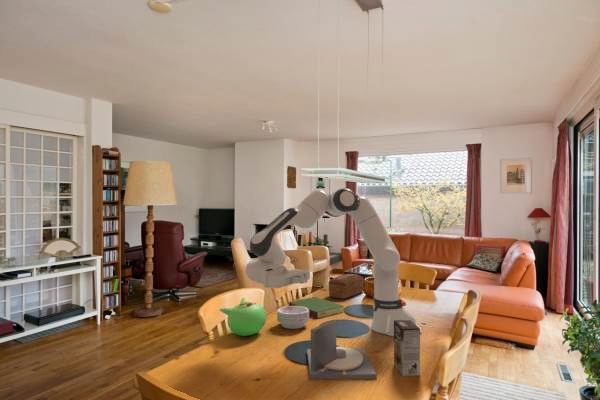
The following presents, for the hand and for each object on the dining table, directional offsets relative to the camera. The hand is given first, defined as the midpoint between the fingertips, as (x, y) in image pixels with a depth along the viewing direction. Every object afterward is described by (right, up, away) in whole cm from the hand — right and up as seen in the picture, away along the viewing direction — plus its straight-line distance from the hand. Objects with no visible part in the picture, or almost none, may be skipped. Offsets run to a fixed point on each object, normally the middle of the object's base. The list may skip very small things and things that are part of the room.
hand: (305, 280), depth 144 cm
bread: (+28, -29, +95) cm, 103 cm away
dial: (+10, -27, -11) cm, 30 cm away
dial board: (+12, -28, -8) cm, 32 cm away
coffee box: (+35, -29, -12) cm, 47 cm away
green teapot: (-26, -29, +24) cm, 46 cm away
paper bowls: (-5, -29, +34) cm, 45 cm away
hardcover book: (+7, -30, +61) cm, 68 cm away
